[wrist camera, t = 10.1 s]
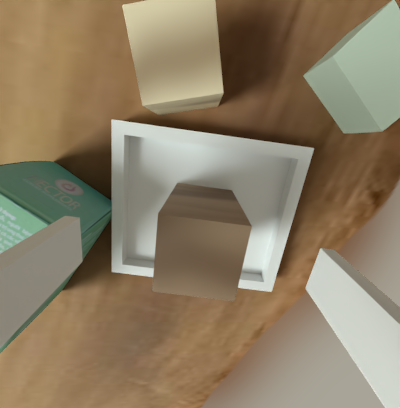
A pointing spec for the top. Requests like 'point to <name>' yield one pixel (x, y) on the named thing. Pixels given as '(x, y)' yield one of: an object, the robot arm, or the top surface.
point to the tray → (208, 177)
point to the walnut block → (200, 243)
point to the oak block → (175, 54)
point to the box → (47, 209)
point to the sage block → (362, 74)
